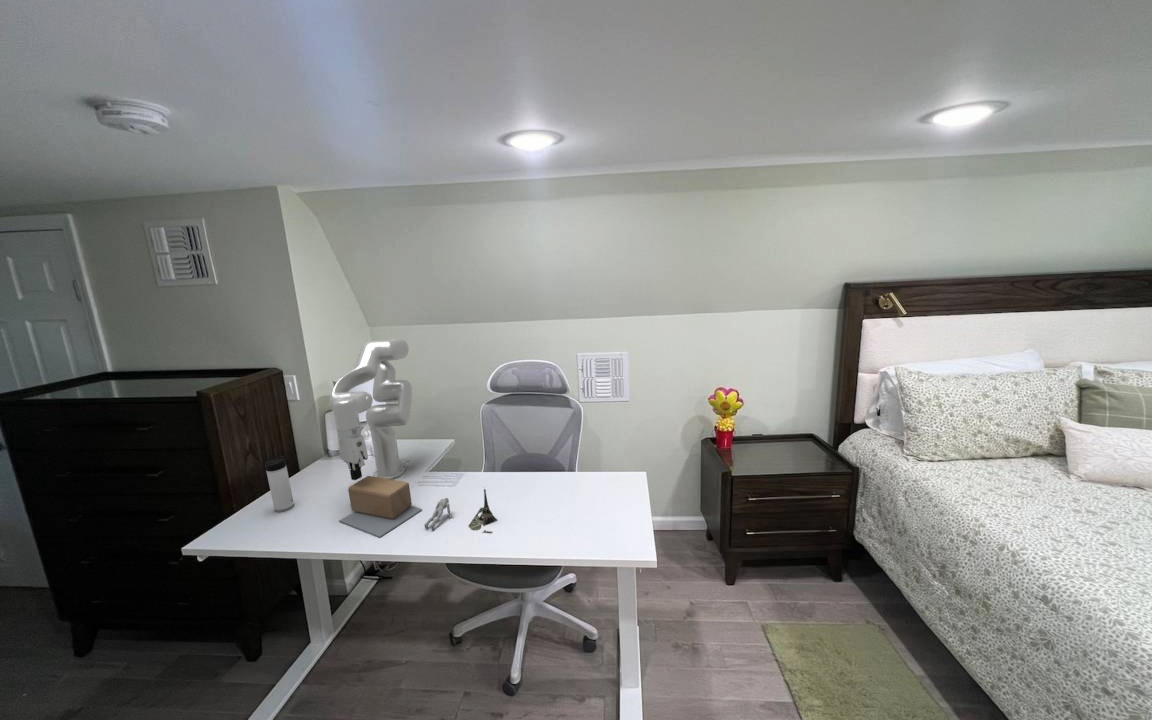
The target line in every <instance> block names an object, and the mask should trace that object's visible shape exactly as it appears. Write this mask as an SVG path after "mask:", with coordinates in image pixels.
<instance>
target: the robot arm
mask: <svg viewBox="0 0 1152 720" xmlns="http://www.w3.org/2000/svg"><path fill="white" fill-rule="evenodd" d="M408 354H409V344H408V343H407V341H406V340H405V339H402V338H401V339H400V338H398V339H396V338H395V339H380V340H379V339H378V340H371V341H367V342H366V341H365V342H364V343H363V344H362V345H361V347H360V350H359V353H358V354H357V358H356V361H355V364H354V367H353V369H351V370H350V371H348V372H347V373H345V374H344V375H343V376H341V378H340V379H338V380H337V381H336V383H334V386H333V388H332V391H331V393H330V397H329V402H328V404H329V408H330V410H331V411H332V412H333V416H334V422H335V428H336V434H337V438H338V439H337V440H338V443H337V444H338V451H339V457H340V460H341V461H343V462H345V463H346V464H347V467H348V470H349V473H350V479H351V481H357V480H359V479H361V478H362V477H363V475H362V467H364V466H366V463H365V461H367V460H368V459H369V454H368V449H367V445H366V442H365V439H364V436H363V434H362V430H361V429H362V428H361V422H360V417H359V415H360V414H361V413H364V412H366V413H365V420H366V423H367V425H368V428H369V431H370V436H371V443H372V448H373V455H374V461H375V468H376V469H375V471H374V472H373V477H379V478H386V479H392V480H394V479H396V478H398V477H399V476H402V475H403V474H404V473H405V469H406V468H405V467H404V465H405V464H406V463H409V461H410V459H409V457H405V458H400V456H399V455H400V454H399V447H398V441H397V436H396V435H397V434H396V432H395V430H394V429H393V427H400V426H401V427H402V426H406V425H408V423H409V422H410V420H411V414H412V413H411V412H412V402H413V401H412V399H413V389H412V385H411V384H412V383H410V382H409V380H408V379H407V380H406V379H396V376H397V375H396V373H397V371H396V368H395V367H394V365H392V363H390V361H399V360H402V359H405V358H406V357H407V356H408ZM372 380H373V385H372V394H371V393H369V392H367V391H351V390H352V389H355V387H358V386H361V385H363V384H366V383H368V382H370V381H372ZM373 400H374V402H376V403H381V404H374V405H373ZM396 402H397V403H396ZM382 403H384V404H382Z"/></svg>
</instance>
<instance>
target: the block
mask: <svg viewBox="0 0 1152 720" xmlns="http://www.w3.org/2000/svg"><path fill="white" fill-rule="evenodd" d="M347 491H348V496H349V503H350V508H351V511H352V512H360V513H365V514H370V515H375V516H380V517H385V518H390V519H394V518H396V517H397V516H399V515H400V514H401V513H402V512H404V511H405V510H406V509H408V508H409V507H410V506H412V504H413V503H412V496H411V488H410V483H409V481H404V480H398V479H397V480H396V479H386V478H379V477H374V476H371V475H367V476H365V477H364V478H362V479H360V480H358V481H357V482H355V483H353V484H352V485H350V486H348V488H347Z"/></svg>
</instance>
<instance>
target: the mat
mask: <svg viewBox="0 0 1152 720" xmlns="http://www.w3.org/2000/svg"><path fill="white" fill-rule="evenodd" d="M422 511H423V509H422V508H420V507H416V506H413V505H411V506H410V507H409V508H408V509H406V510H405V511H404V512H402V513H401V514H400V515H399V516H397V517H396V518H394V519H390V518H385V517H380V516H375V515H370V514H365V513H360V512H355V511H352V512H351V513H349V514H348V515H345V516H344V517H343V518H341V519H339V520H338V523H341V524H343V525H346V526H348V527H351V528H353V529H356V530H358V531H361V532H363V533H367V534H369V535H371V536H374V537H375V538H378V539H381V538H383V537H384V536H385V535H387V534H389V533H390V532H392V531H393V530H394V529H396V528H397V527H400V526H401V525H403V524H404V523H405V522H407V521H409V520H410V519H412V518H413V517H415V516H416V515H418V514H419V513H421V512H422Z"/></svg>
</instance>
